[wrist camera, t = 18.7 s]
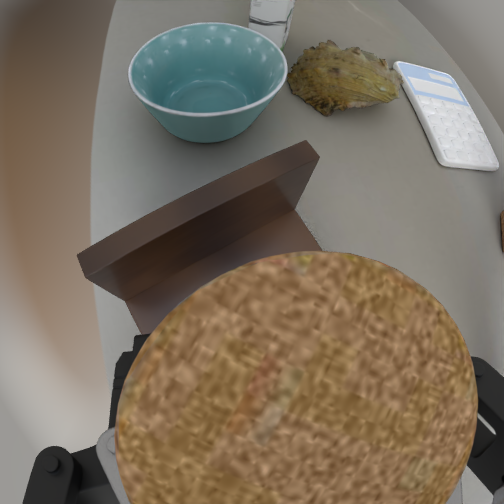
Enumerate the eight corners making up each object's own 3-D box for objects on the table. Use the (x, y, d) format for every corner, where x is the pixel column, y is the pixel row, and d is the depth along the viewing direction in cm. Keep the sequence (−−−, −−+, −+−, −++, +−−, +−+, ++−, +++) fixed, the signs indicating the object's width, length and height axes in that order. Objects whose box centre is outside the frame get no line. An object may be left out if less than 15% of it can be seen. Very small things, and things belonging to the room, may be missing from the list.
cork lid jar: (241, 441, 16) (301, 644, 2) (169, 369, 17) (-9, 409, 3) (314, 372, 17) (542, 390, 3) (244, 301, 18) (318, 125, 4)
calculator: (438, 167, 36) (446, 160, 34) (389, 65, 42) (393, 57, 40) (495, 173, 37) (503, 167, 36) (447, 79, 43) (452, 73, 41)
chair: (220, 424, 25) (218, 504, 10) (151, 307, 27) (76, 254, 12) (333, 353, 28) (443, 346, 12) (265, 244, 30) (306, 139, 15)
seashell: (394, 129, 38) (432, 80, 29) (301, 128, 35) (332, 62, 25) (360, 76, 42) (388, 28, 32) (273, 69, 38) (293, 9, 29)
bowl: (279, 78, 37) (290, 29, 30) (270, 176, 33) (285, 125, 25) (162, 68, 37) (155, 20, 29) (125, 161, 32) (104, 111, 24)
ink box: (278, 64, 38) (293, -6, 27) (243, 56, 38) (250, -14, 27) (288, 35, 41) (302, -26, 30) (257, 28, 41) (266, -33, 30)
